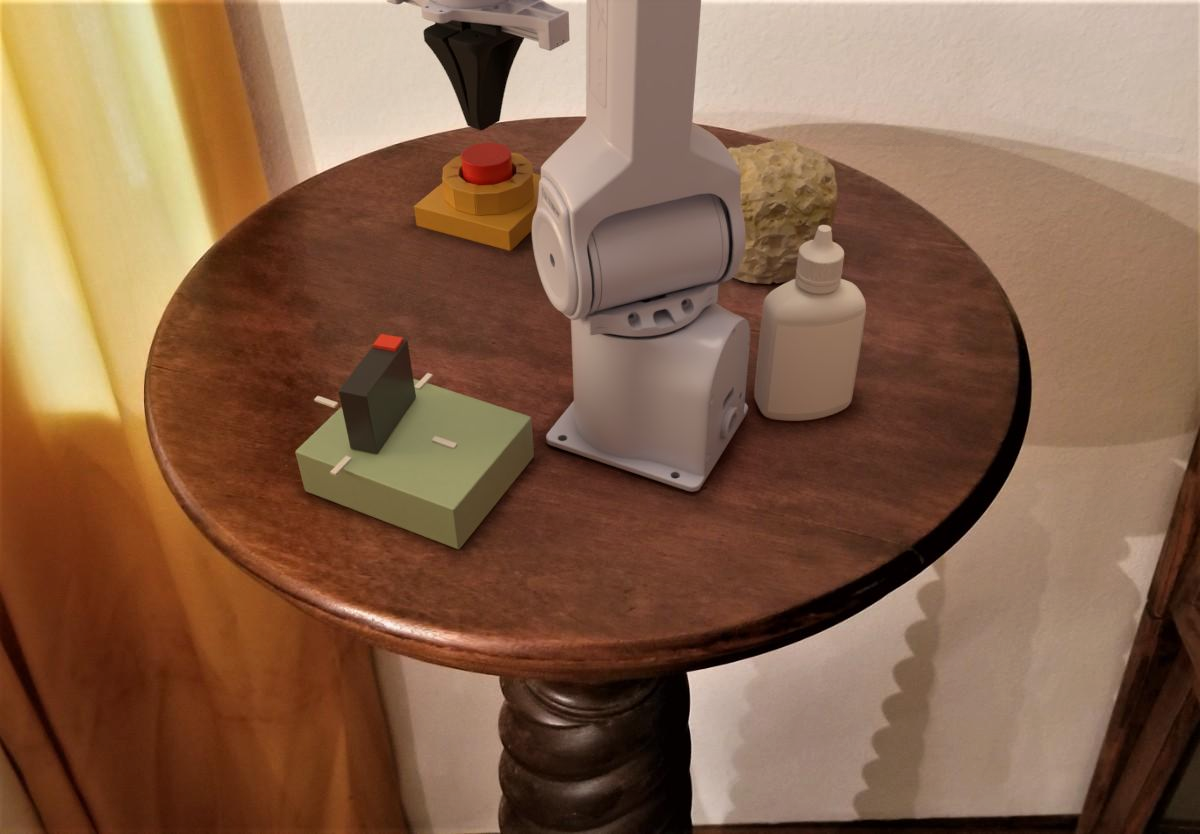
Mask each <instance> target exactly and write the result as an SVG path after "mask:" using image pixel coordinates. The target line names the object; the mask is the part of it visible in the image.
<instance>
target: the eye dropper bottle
mask: <svg viewBox="0 0 1200 834" xmlns="http://www.w3.org/2000/svg"><path fill="white" fill-rule="evenodd" d="M844 261H845V251H844V248H843V247H842V246H841V245H840V244H839V243H837V242H834V241H833V233H832V230H831V227H830V226H828V225H820V226H819V227H818V229H817V232H816V235H815V238H814V240H810V241H807V242H805V243H803V244H802V245H801V246H800V248H799V252H798V261H797V269H796V278H795V279H793V280H791V281H787V282H784V283H783V284H781V285H779V286H777V287H776V288H774V289H773V290H770V292H769V293H768V294H767V295H766V296H765V297H764V299H763V303H762V310H761V317H760V318H761V319H760V326H759V327H760V328H759V335H758V336H759V337H758V347H757V356H756V357H757V358H756V367H755V378H754V388H753V389H754V390H753V397H754V400H755V403H756V405H757V408H758V409H759V411H760V413H761V414H762V415H763V416H764V417H765V418H768V419H770V420H776V421H785V422H786V421H787V422H802V421H803V422H804V421H813V420H819V419H823V418H826V417H829V416H833V415H835V414H837V413H840V412H842V411H844V410H846V409H847V408H848V407H849V406H850V405H851V403H852V400H853V394H854V388H855V382H856V376H857V371H858V365H859V359H860V353H861V346H862V341H863V334H864V330H865V329H864V328H865V320H866V315H867V302H866V299H865V297H864V295H863V293H862V291H861V290H860V289H859V287H858V286H857V285H856V284H854V283H853V282H851V281H849V280H846V279H843V278H842V276H843V275H842V274H843V269H844V267H843V266H844Z"/></svg>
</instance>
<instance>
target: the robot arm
mask: <svg viewBox="0 0 1200 834" xmlns="http://www.w3.org/2000/svg"><path fill="white" fill-rule="evenodd" d="M386 2H387V3H388V4H393V5H396V6H397V5H402V4H403V3H405V4H409V5H412V6H416V7H419V8H420V9H421V18H423V19H424V20H426V21H430V22H434V24H432V25H429V26H427V27H426V28H425V29H423V31H422V32H423V33H422V34H423V41H424V42H425V44H426V45H427V46H428V47H429V49H430V50H431V51H432V53H433V54H434V55H435V57H436V58H437V60H438V61H439V63H440V65H441V67H442V69H443V70H444V72H445V73H446V75H447V78H448V79H449V82H450V84H451V86H452V89H453V91H454V93H455V97H456V98H457V99H456V100H457V101H458V104H459V106H460V108H461V112H462V115H463V117H464V119H465V122H466V125H467V127H470V128H472V129H475V130H478V131H484V130H486V129H488V128H489V127H492V126H493V125H495V124H496V123H498V122H500V120H501V115H502V109H503V103H504V97H505V92H506V87H507V83H508V79H509V76H510V72H511V71H512V66H513V64H514V62H515V59H516V57H517V55H518V52H519V50H520V49H521V45H522V44H523V42H524V40H525V39H528V40H531V41H535V42H536V43H537V42H538V47H539V48H540V49H542V50H546V51H553V50H555V49H557V48H559V47H561V46H563V45H564V44H566V43H568V42H570V39H571V38H570V13H569V11H568V10H565V9H562V8H558V7H556V6H553V5H551V4H550V3H548V2H546V1H544V0H386ZM585 6H586V17H585V18H586V28H585V29H586V30H585V31H586V34H585V35H586V38H585V39H586V43H585V44H586V46H585V47H586V49H585V51H586V52H585V53H586V54H585V56H586V57H585V58H586V64H585V65H586V66H585V69H586V70H585V73H586V75H585V77H586V78H585V79H586V81H585V82H586V83H585V87H586V88H585V89H586V90H585V91H586V92H585V94H586V95H585V120H584V122H583V123H581V125H580V126H579V127H578V128H577V129H576V131H574V132H573V134H571V136H569V138H568V139H566V140H565V141H564V142H563V143H562V144H561V145H560V146H559V147H558V148H557V149H556V150H555V151H553V153H551V155H550V156H549V157H548V158H547V159H546V160H545V162H543V164H542V165H541V167H540V175H541V179H540V181H539V195H538V204H537V209H536V212H535V214H534V217H533V221H532V231H531V241H532V250H533V256H534V260H535V264H536V265H535V266H536V268H537V272H538V276H539V279H540V282H541V284H542V287H543V290H544V291H545V294H546V296H547V298H548V299H549V302H550V303H551V304H552V306H553V307H554V308H555V309H556V310H557V311H558V312H560V313H561V314H563V316H565V317H566V318H568V319H569V320H570V332H571V357H572V358H571V361H572V385H573V387H572V388H573V389H572V390H573V401H572V402H571V403H570V405H569V406H568V407H567V408H566V409H565V410H564V412H563V413H562V414H561V415H560V417H559V418H558V419H557V420H556V422H555V423H554V424H553V425H552V427H551V428H550V429H549V431H547V433H546V435H545V441H546V443H547V444H548V445H549V446H550V447H551V446H552V447H555V448H557V449H560V450H563V451H566V452H570V453H572V454H575V455H578V456H582V457H585V458H588V459H590V460H594V461H597V462H599V463H603V464H605V465H607V466H612V467H614V468H617V469H621V470H624V471H627V472H630V473H633V474H636V475H640V476H642V477H645V478H648V479H650V480H654V481H657V482H660V483H662V484H666V485H668V486H671V487H674V488H677V489H681V490H684V491H686V492H691V493H694V492H697V491H699V490H700V489H701V488H702V486H703V484H704V483H705V482H706V480H707V479H708V477H709V475H710V474H711V472H712V470H713V468H714V467H715V466H716V464H717V463H718V461H719V460H720V458H721V456H722V454H723V452H724V451H725V450H726V448H727V446H728V444H729V443H730V441H731V439H732V438H733V437H734V435H735V434H736V432H737V430H738V429H739V427H740V425H741V423H742V422H743V420H744V419H745V417H746V416H747V414H748V411H749V406H748V404H747V403H746V395H747V394H746V392H747V382H748V369H749V361H750V359H749V358H750V350H751V349H750V348H751V347H750V346H751V326H750V322H749V320H748V319H747V318H745V317H743V316H741V315H739V314H736V313H734V312H732V311H730V310H728V309H726V308H725V307H723V306H721V305H720V304H719V303H718V302H719V301H718V300H719V286H720V285H719V284H720V283H725V282H729V281H730V280H732V279H734V278H733V277H734V276H735V274H736V273H737V271H738V269H739V267H740V264H741V260H742V258H743V255H744V251H745V243H746V231H745V222H744V216H743V212H742V208H741V171H740V170H739V168H738V166H737V164H736V162H735V160H734V159H733V157H732V155H731V153H730V152H729V151H728V149H729V148H727V147H726V146H725V145H724V143H723V142H722V140H720V139H719V138H718V137H716V135H714V134H713V133H712V132H710V131H708V130H707V129H705V128H703V126H700V125H698V124H697V123H695V122H693V117H694V104H695V91H696V78H697V77H696V76H697V63H698V51H699V50H698V49H699V35H700V23H701V10H702V9H701V7H702V0H586V5H585Z"/></svg>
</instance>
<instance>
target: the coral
mask: <svg viewBox="0 0 1200 834" xmlns="http://www.w3.org/2000/svg"><path fill="white" fill-rule="evenodd" d="M727 149H728V151H729V152H730V153H731V155H732V157H733V159H734V160H735V162H736V164H737V166H738V168H739V170H740V171H741V208H742V212H743V216H744V222H745V231H746V243H745V251H744V255H743V258H742V260H741V264H740V267H739V269H738V271H737V273H736V274H735V276H734V277H733V278H732V279H736V280H737V281H738V280H739V281H742V282H745V283H751V284H763V285H764V284H765V285H771V284H772V283H775V284H781V283H787V282H789V281H791V280H793V279H795V278H796V269H797V261H798V252H799V248H800V246H801V245H802V244H803V243H805V242H807V241H810V240H814V238H815V235H816V232H817V229H818V227H819V226H820V225H828V226H830V227H831V230H832V229H833V227H834V221H835V213H836V209H837V203H838V197H839V191H838V183H837V179H836V169H835V167H834V166H833V165H832V163H831V162H829V158H827V157H826V156H825V155H823V154H821V153H820V150H815V149H813V148H809V147H807V146H803V145H801V144H799V143H798V142H793V141H790V140H782V139H780V138H778V139H774V140H772V141H767V142H763V143H759V144H746V145H742V146H739V147H732V146H730V147H729V148H727Z"/></svg>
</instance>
